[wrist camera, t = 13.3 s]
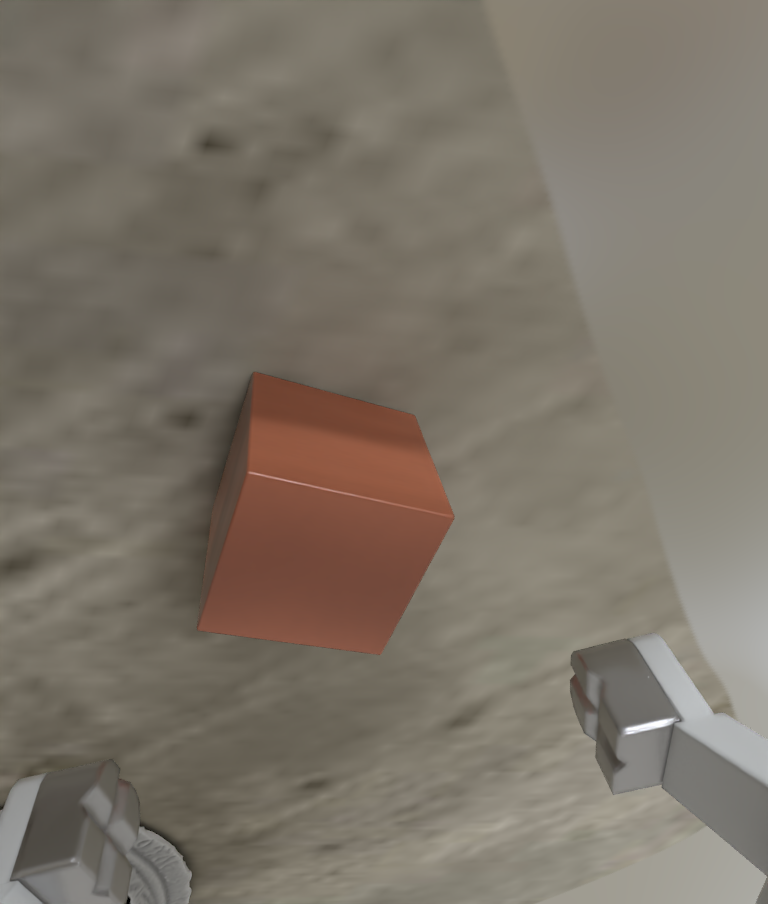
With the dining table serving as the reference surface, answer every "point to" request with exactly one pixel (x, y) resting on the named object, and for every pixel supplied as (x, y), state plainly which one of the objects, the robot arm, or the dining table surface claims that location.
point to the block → (320, 520)
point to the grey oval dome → (157, 871)
